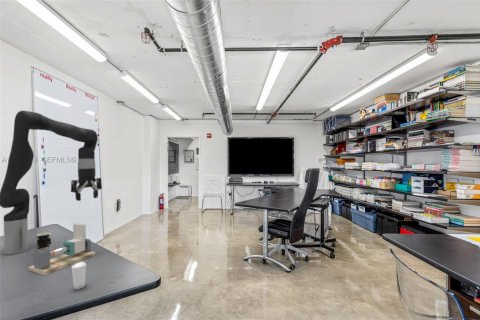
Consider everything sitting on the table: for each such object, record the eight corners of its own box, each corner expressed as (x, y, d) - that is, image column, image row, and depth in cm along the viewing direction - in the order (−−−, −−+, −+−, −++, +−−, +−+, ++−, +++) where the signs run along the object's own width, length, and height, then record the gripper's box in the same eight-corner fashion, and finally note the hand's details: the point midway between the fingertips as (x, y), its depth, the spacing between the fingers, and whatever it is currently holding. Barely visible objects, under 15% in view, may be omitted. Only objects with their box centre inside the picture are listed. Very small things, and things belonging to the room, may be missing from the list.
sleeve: (76, 248, 120) (76, 223, 120) (86, 250, 117) (85, 224, 117) (66, 252, 115) (65, 226, 115) (75, 254, 112) (75, 227, 112)
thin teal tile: (66, 252, 114) (65, 240, 114) (74, 254, 112) (73, 242, 112) (63, 253, 113) (63, 241, 113) (71, 255, 111) (71, 243, 111)
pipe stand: (79, 251, 123) (79, 235, 123) (95, 255, 119) (95, 238, 119) (28, 270, 103) (28, 251, 103) (45, 275, 98) (44, 254, 98)
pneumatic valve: (37, 259, 114) (37, 235, 114) (36, 252, 123) (36, 230, 123) (52, 256, 118) (51, 232, 118) (50, 250, 127) (49, 227, 127)
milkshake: (74, 284, 91) (74, 258, 90) (89, 283, 91) (88, 258, 91) (66, 291, 86) (66, 263, 86) (82, 290, 86) (81, 263, 86)
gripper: (95, 167, 129) (95, 196, 129) (67, 168, 116) (67, 201, 116) (104, 167, 126) (105, 197, 126) (76, 168, 113) (77, 202, 113)
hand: (87, 199), depth 121 cm, fingers open, 8 cm apart
